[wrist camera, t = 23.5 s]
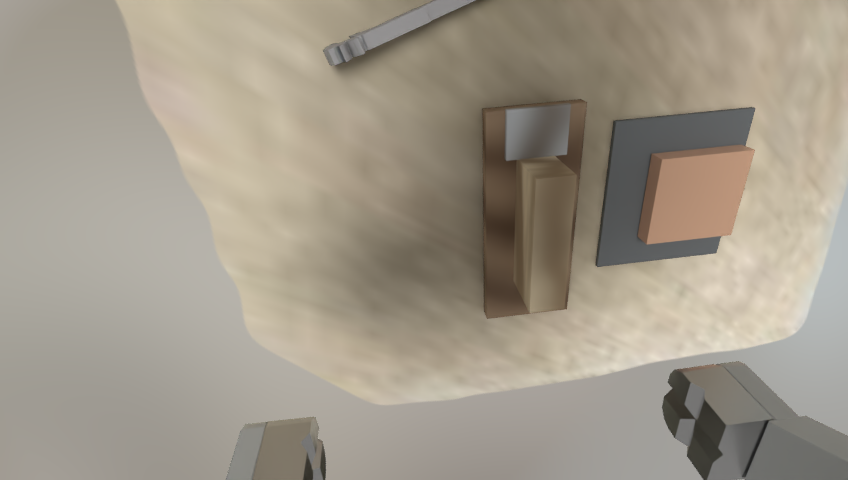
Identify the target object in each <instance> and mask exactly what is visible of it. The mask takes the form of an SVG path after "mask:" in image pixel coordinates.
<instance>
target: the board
mask: <svg viewBox="0 0 848 480" xmlns="http://www.w3.org/2000/svg"><path fill="white" fill-rule="evenodd" d="M562 103H570V104H571V110H570V122H569V135H568V147H567V155H558V156H556V157H557V158H558V159H559V160H560V161H561V162H562V163H564V164H565V165H566V166H567V167H568V168H569V169H571V170H572V171H573V172H574V173H575V174H576V175H577V178H576V189H575V200H574V210H573V221H572V232H571V243H570V253H569V264H568V275H567V286H566V297H565V307H564V309H567V302H568V292H569V281H570V271H571V261H572V251H573V240H574V230H575V220H576V209H577V199H578V189H579V179H580V168H581V158H582V148H583V137H584V127H585V117H586V107H587V102H585V101H583V100H581V99H579V100H569V101H558V102H547V103H537V104H526V105H516V106H505V107H495V108H484V109H483V218H484V312H485V315H486V317H487V319H488V318H497V317H505V316H513V315H522V314H530V313H529V311H528V309H527V307H526V305H525V303H524V301H523V299H522V297H521V295H520V293H519V291H518V289H517V287H516V285H515V283H514V281H513V277H514V240H515V202H516V164H517V160H509V161H506V160H505V109H510V108H521V107H531V106H542V105H552V104H562ZM560 310H563V309H560ZM552 311H555V310H552ZM543 312H546V311H543ZM535 313H538V312H535Z"/></svg>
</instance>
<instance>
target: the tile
mask: <svg viewBox="0 0 848 480" xmlns="http://www.w3.org/2000/svg"><path fill="white" fill-rule="evenodd" d="M754 151H755V150H754V149H751V148H749V147H746V146H744V145H731V146H722V147H712V148H702V149H692V150H683V151H673V152H663V153H653V154H652V155H651V161H650V167H649V172H648V178H647V184H646V190H645V196H644V201H643V207H642V213H641V219H640V225H639V230H638V237H639V238H640V239H641V240H642V241H643V242H644V243H645V244H646V245H647V244H656V243H664V242H673V241H682V240H691V239H699V238H708V237H717V236H726V235H731V233H732V229H733V226H734V222H735V219H736V215H737V212H738V208H739V205H740V201H741V198H742V194H743V190H744V187H745V183H746V180H747V176H748V173H749V169H750V166H751V162H752V159H753V155H754Z"/></svg>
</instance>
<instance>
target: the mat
mask: <svg viewBox="0 0 848 480" xmlns="http://www.w3.org/2000/svg"><path fill="white" fill-rule="evenodd" d="M754 112H755V108H753V107H749V108H739V109H729V110H718V111H708V112H698V113H688V114H678V115H667V116H657V117H647V118H637V119H626V120H616V121H614V123H613V131H612V139H611V147H610V155H609V162H608V170H607V178H606V186H605V194H604V202H603V210H602V218H601V225H600V233H599V241H598V249H597V257H596V266H597V267H601V266H610V265H619V264H627V263H636V262H644V261H653V260H662V259H670V258H679V257H687V256H696V255H705V254H713V253H716V252H717V249H718V245H719V241H720V238H721V236H717V237H708V238H699V239H691V240H682V241H673V242H664V243H656V244H647V245H646V244H645V243H644V242H643V241H642V240H641V239H640V238H639V237H638V230H639V225H640V219H641V213H642V207H643V201H644V196H645V190H646V184H647V178H648V172H649V167H650V161H651V155H652V154H653V153H663V152H673V151H683V150H692V149H702V148H712V147H722V146H731V145H744V146H745V145H746V141H747V138H748V134H749V130H750V127H751V123H752V119H753V115H754Z"/></svg>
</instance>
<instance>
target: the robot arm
mask: <svg viewBox="0 0 848 480" xmlns="http://www.w3.org/2000/svg"><path fill="white" fill-rule="evenodd" d="M668 383H669V385H670V386H671V387H672V389H671V390H670V391H669V392H668V393H667V394H666V395H665V396H664V400H663V405H662V409H663V415H664V419H665V422H666V424H667V426H668V429H669V430H670V431H671V433H672V435H673V436H674V438H675V439H677V440H679V441H680V442H682V443H684V444H685V445H687V446H688V447H687V457H688V458H689V459H690V461H691V462H692V464H693V465H694V467H695V468H696V469H697V471H698V472H699V474H700V475H701V477H702V478H703V480H737V479H745V480H848V436H847V435H845V434H843V433H840V432H839V431H836V430H834V429H832V428H830V427H828V426H826V425H824V424H822V423H820V422H818V421H815V420H813V419H811V418H809V417H807V416H802V417H799V416H798V415H797V414H796V413H795V412H794V411H793V410H792V409H791V408H790V407H789V406H788V405H787V404H786V403H785V402H783V400H782V399H780V398H779V397H778V396H777V395H776V394H775V393H774V392H773V391H772V390H771V389H770V388H769V387H768V386H767V385H766V384H765V383H764V382H763V381H762V380H761V379H760V378H759V377H758V376H757V375H756V374H755V373H754V372H753V371H752V370H751V369H750V368H749V367H748V366H747V365H745V364H743V363H741V362H739V361H736V362H729V363H721V364H716V365H714V364H712V365H705V366H698V367H691V368H684V369H677V370H674V371H673V372H672V373H671V374H670V376H669V379H668ZM318 431H319V426H318V423H317V420H316V417H307V418H298V419H288V420H278V421H269V422H262V423H253V424H245V426H244V427H243V429H242V430H241V431H240V435H239V438H238V442H237V445H236V448H235V451H234V455H233V458H232V461H231V464H230V467H229V471H228V474H227V478H226V480H325V478H326V458H325V451H324V446H323V442H322V441H321V440H320V439H318Z"/></svg>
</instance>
